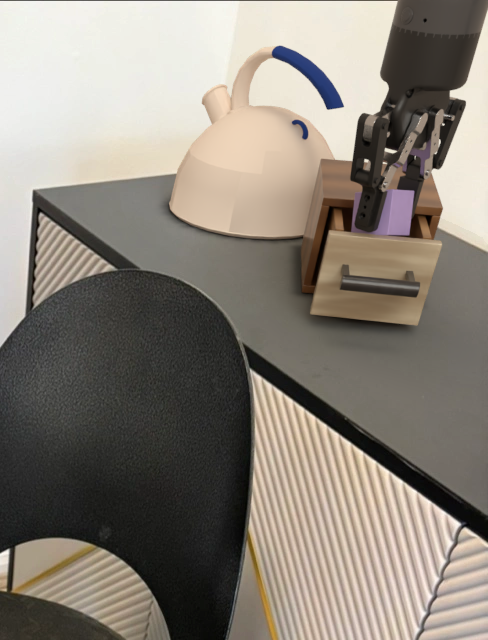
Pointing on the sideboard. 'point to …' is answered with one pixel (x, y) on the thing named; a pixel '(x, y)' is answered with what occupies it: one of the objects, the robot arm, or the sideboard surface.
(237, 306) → the sideboard surface
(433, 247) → the drawer
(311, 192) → the kettle
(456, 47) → the robot arm
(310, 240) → the wooden nightstand
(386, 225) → the purple cube
